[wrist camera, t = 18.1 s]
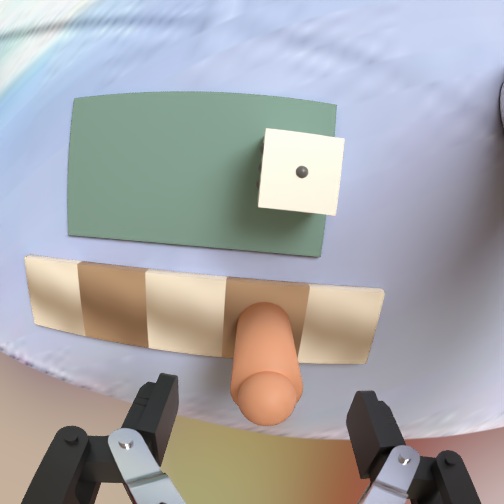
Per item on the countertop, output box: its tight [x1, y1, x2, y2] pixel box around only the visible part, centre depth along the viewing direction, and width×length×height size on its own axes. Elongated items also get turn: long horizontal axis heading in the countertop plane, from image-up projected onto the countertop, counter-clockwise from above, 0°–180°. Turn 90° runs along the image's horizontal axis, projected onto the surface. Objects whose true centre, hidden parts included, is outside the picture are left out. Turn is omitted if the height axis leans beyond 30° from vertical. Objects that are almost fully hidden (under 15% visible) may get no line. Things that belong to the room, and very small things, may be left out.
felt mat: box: [68, 92, 337, 257], centre depth 19 cm, size 10×18×1 cm, turn 85°
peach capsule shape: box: [230, 302, 303, 426], centre depth 17 cm, size 4×4×9 cm
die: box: [256, 128, 344, 216], centre depth 17 cm, size 4×4×4 cm
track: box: [24, 254, 385, 364], centre depth 22 cm, size 6×28×1 cm, turn 85°
